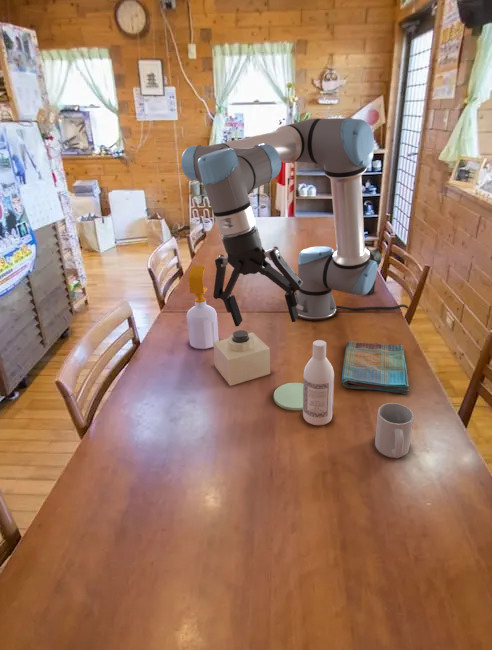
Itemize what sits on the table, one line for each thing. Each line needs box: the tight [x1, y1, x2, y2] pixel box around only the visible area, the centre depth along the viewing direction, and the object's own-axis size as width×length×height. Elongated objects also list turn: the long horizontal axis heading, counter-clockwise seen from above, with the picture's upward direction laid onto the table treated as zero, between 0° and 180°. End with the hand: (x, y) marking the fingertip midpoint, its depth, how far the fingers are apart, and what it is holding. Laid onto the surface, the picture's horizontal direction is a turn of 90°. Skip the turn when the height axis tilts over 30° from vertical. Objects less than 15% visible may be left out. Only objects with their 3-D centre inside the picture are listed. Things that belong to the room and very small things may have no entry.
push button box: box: [213, 331, 271, 387], centre depth 125 cm, size 12×11×10 cm
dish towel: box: [341, 340, 410, 395], centre depth 126 cm, size 17×23×2 cm
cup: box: [374, 402, 415, 459], centre depth 95 cm, size 7×10×9 cm
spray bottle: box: [186, 265, 220, 350], centre depth 136 cm, size 9×9×25 cm
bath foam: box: [302, 339, 335, 426], centre depth 103 cm, size 7×7×20 cm
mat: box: [273, 382, 303, 412], centre depth 115 cm, size 11×11×1 cm
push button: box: [232, 329, 249, 343], centre depth 122 cm, size 4×4×2 cm
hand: (266, 321), depth 101 cm, fingers open, 13 cm apart
